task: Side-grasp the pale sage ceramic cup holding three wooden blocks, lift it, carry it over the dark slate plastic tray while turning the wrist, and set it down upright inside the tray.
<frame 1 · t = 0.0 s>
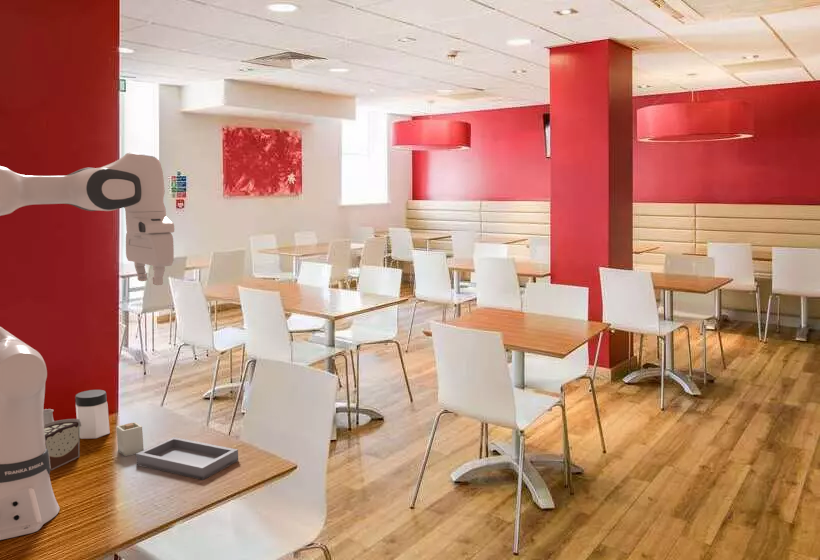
hand: (150, 282, 163), 48 cm above the table, fingers open, 8 cm apart
food container: (56, 462, 180), on the table
tray: (187, 462, 178), on the table
jar: (93, 434, 200), on the table
flask: (49, 446, 192), on the table
cup: (130, 451, 186), on the table
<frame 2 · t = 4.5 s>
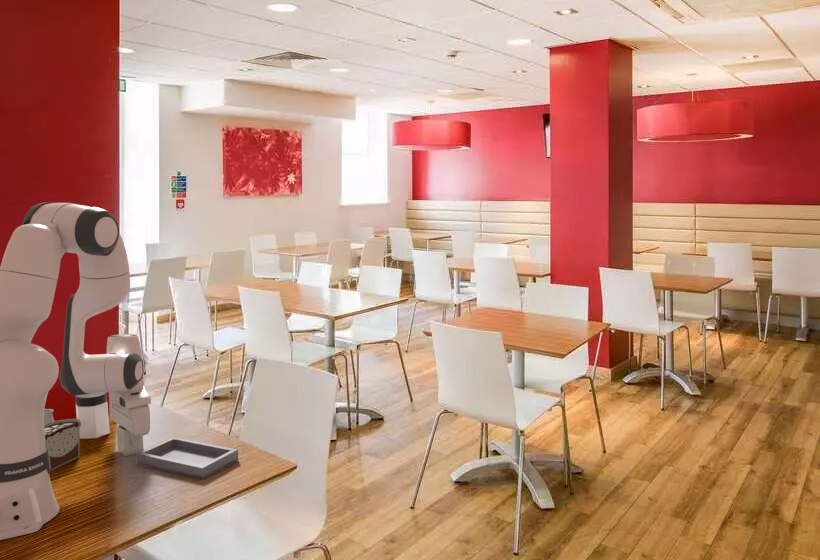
hand: (130, 443, 186), 2 cm above the table, fingers closed on cup, 5 cm apart
cup: (130, 451, 186), on the table, touching gripper
everything else where it was.
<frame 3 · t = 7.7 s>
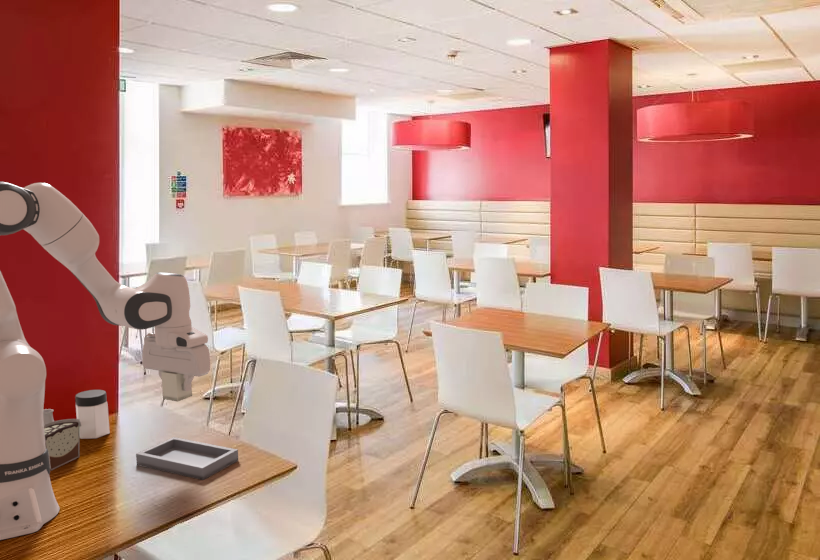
hand: (177, 388, 177), 19 cm above the table, fingers closed on cup, 5 cm apart
cup: (177, 397, 177), point 17 cm above the table, touching gripper
everything else where it was.
when the fingers open (5 cm above the table, at t = 11.2 s): cup drops 1 cm, resting on tray.
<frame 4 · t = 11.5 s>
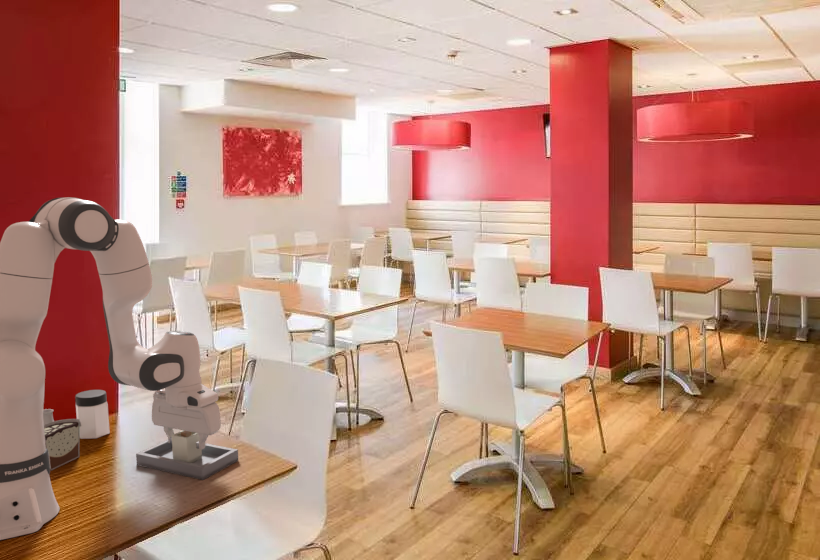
hand: (186, 445, 178), 5 cm above the table, fingers open, 8 cm apart
cup: (187, 459, 178), point 1 cm above the table, touching tray
everything else where it was.
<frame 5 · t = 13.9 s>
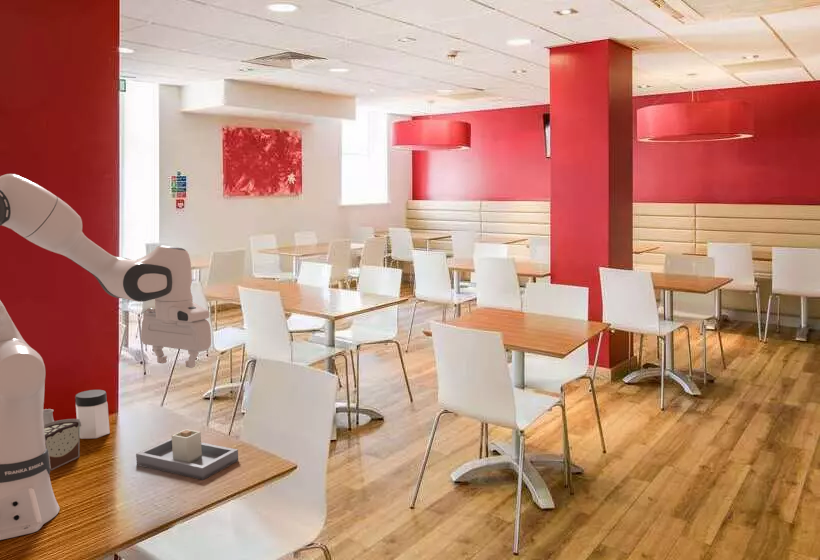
hand: (176, 365, 174), 26 cm above the table, fingers open, 8 cm apart
nothing on the table moved.
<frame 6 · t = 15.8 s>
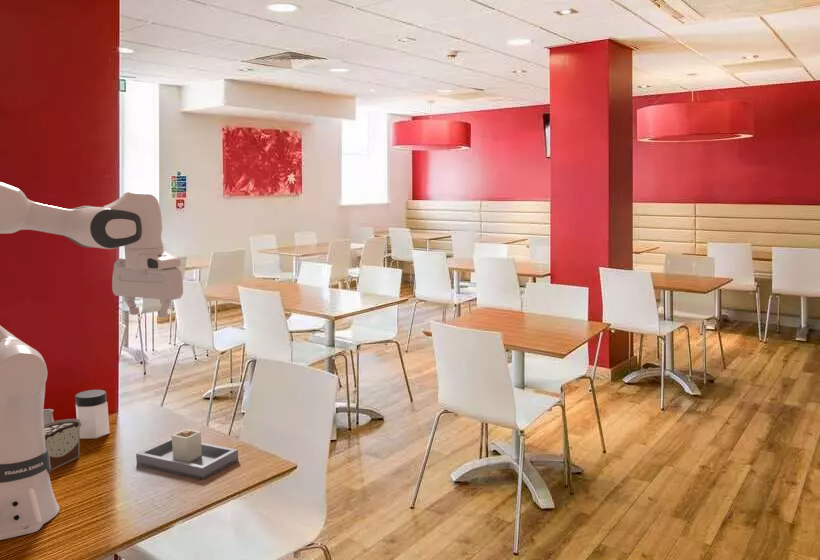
hand: (148, 315, 170), 39 cm above the table, fingers open, 8 cm apart
nothing on the table moved.
at the end: cup inside the target area on the tray (0.0 cm from its centre), point 0.8 cm above the tray's base; cup tilted 0°; the gripper is holding nothing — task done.
